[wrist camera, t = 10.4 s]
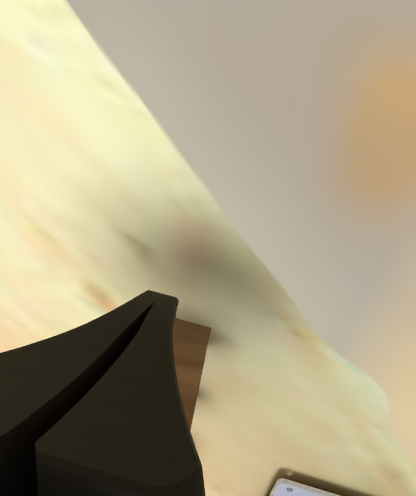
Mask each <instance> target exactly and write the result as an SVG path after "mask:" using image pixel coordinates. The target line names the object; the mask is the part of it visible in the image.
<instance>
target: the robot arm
mask: <svg viewBox="0 0 416 496" xmlns="http://www.w3.org/2000/svg"><path fill="white" fill-rule="evenodd" d="M177 306H178V299H177V298H176V297H172V296H168V295H165V294H161V293H157V292H153V291H150V290H148V291H146V292H144V293H142V294H140V295H139V296H137V297H135V298H134V299H132V300H130V301H128V302H127V303H125V304H123V305H121V306H120V307H118V308H116V309H114V310H112V311H111V312H109V313H107V314H105V315H103V316H101V317H99V318H97V319H95V320H93V321H91V322H88V323H86V324H84V325H82V326H79V327H77V328H75V329H72V330H70V331H67V332H64V333H62V334H59V335H57V336H54V337H51V338H48V339H45V340H42V341H39V342H36V343H32V344H29V345H26V346H23V347H20V348H17V349H13V350H9V351H6V352H2V353H0V496H205V488H204V480H203V471H202V465H201V462H200V459H199V456H198V453H197V451H196V448H195V445H194V442H193V439H192V436H191V433H190V429H189V426H188V422H187V419H186V416H185V412H184V408H183V404H182V399H181V395H180V391H179V387H178V381H177V375H176V369H175V362H174V352H173V325H174V320H175V315H176V310H177ZM269 496H340V495H337V494H334V493H330V492H327V491H324V490H320V489H317V488H314V487H311V486H307V485H304V484H301V483H297V482H294V481H291V480H287V479H284V478H280V479H278V480H277V482H276V484H275V486H274V487H273V489H272V491H271V493H270V495H269Z"/></svg>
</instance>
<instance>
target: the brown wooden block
mask: <svg viewBox="0 0 416 496" xmlns="http://www.w3.org/2000/svg"><path fill="white" fill-rule="evenodd" d="M210 329H211V328H208V327H204V326H201V325H197V324H193V323H190V322H186V321H182V320H179V319H175V320H174V325H173V352H174V362H175V369H176V375H177V381H178V387H179V391H180V395H181V399H182V404H183V408H184V412H185V416H186V419H187V422H188V426H189V429H191V424H192V419H193V414H194V409H195V404H196V399H197V394H198V389H199V384H200V379H201V374H202V369H203V364H204V359H205V354H206V349H207V344H208V339H209V334H210Z"/></svg>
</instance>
